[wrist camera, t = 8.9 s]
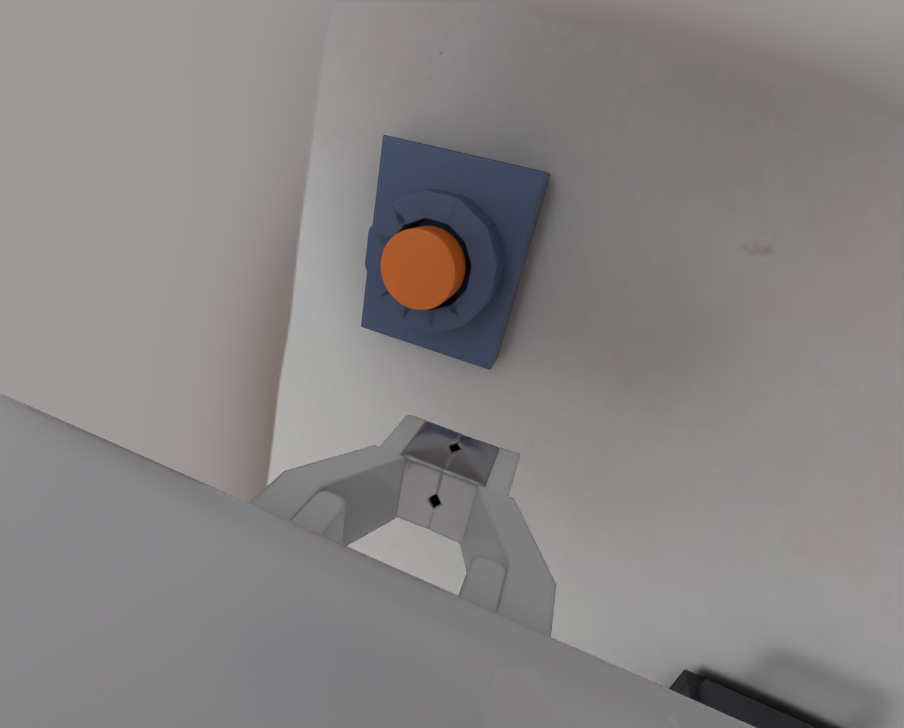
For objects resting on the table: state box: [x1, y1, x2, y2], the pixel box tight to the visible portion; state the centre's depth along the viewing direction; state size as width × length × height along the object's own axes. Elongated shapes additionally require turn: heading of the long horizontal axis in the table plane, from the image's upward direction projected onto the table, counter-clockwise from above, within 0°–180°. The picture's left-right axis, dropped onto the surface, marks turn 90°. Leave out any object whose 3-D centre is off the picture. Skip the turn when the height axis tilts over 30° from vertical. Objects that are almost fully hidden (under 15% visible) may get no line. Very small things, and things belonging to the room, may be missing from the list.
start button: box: [381, 226, 466, 310], centre depth 19 cm, size 4×4×2 cm
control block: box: [361, 135, 550, 369], centre depth 21 cm, size 10×8×4 cm
